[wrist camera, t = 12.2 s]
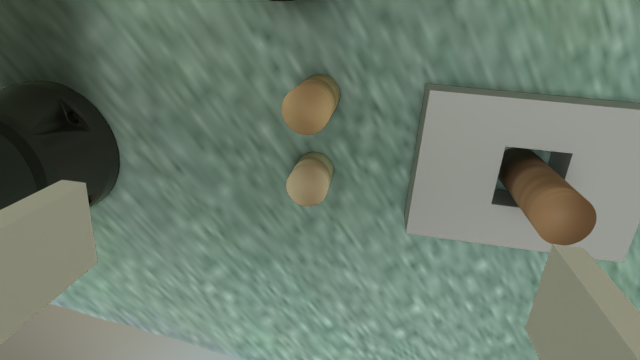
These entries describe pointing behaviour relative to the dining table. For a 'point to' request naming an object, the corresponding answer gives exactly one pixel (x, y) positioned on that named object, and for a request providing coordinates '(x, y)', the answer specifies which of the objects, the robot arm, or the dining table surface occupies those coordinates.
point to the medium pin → (311, 104)
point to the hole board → (531, 133)
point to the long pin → (546, 198)
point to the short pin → (310, 179)
